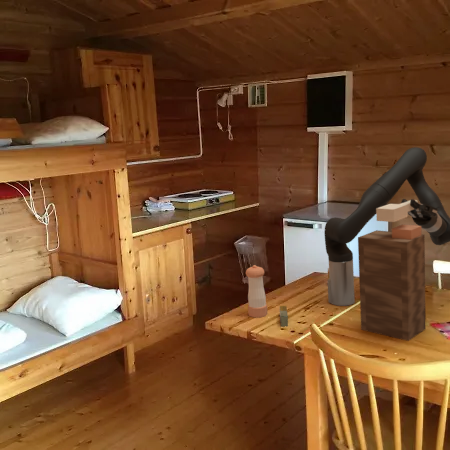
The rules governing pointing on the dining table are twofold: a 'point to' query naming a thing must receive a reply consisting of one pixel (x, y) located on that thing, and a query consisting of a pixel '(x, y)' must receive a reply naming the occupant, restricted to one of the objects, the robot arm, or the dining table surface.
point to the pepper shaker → (256, 292)
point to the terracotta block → (406, 232)
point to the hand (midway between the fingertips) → (407, 201)
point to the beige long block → (393, 211)
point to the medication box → (283, 316)
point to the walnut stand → (392, 284)
